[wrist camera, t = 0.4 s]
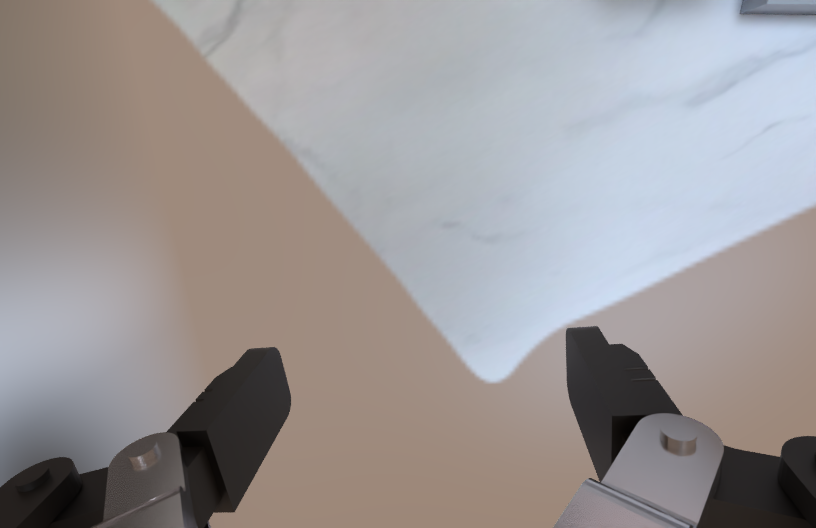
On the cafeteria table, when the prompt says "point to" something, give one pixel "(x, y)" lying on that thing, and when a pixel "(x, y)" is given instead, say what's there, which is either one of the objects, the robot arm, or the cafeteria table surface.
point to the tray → (779, 7)
